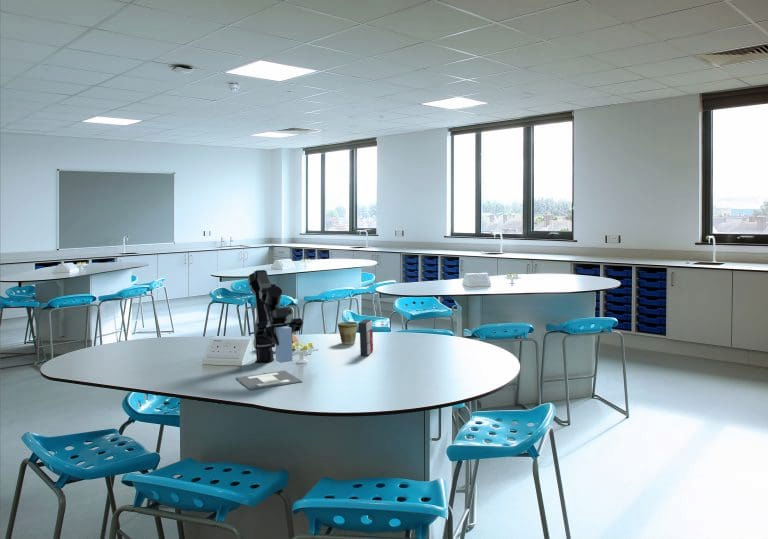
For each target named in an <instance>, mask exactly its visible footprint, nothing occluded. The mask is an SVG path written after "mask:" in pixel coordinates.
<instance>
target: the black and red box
mask: <svg viewBox="0 0 768 539" xmlns="http://www.w3.org/2000/svg"><path fill="white" fill-rule="evenodd" d="M357 323H358V326H357V331H358V333H359V346H360V347H359V348H360V349H359V351H360V356H361V357H367V355H370V354H371V353H372V352H373V351H374V340H373V339H374V337H373V336H374V335H373V333H374V332H373V331H374V330H373V321H372V319H371V318H370V319H368V318H366V319H365V318H364V319H362V320H361V321H359V322H357Z"/></svg>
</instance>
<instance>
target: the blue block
mask: <svg viewBox="0 0 768 539" xmlns="http://www.w3.org/2000/svg"><path fill="white" fill-rule="evenodd" d="M275 335H276V337H277V339H278V343H279V345H278V346H277V345H276V344H275V347H274V348H275V361H276V362H278V363H280V364H282V363H289V362H293V344H292V328H290V327H288V326H283V327H275Z"/></svg>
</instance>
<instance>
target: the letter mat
mask: <svg viewBox="0 0 768 539" xmlns="http://www.w3.org/2000/svg"><path fill="white" fill-rule="evenodd" d="M236 378H237V379H238V380H239V381H240V382H239V381H238V380H237V379H236V380H237V381H238V382H239V383H241V384H242V383H243V384H244V385H245V386H246V389H248V390H249V389H250V391H255V389H256V390H261V389H262V390H263V389H267V388H274V387H280V386H285V385H293V384H299V383H302V382H303V380H302V379H299V377H296V376H294V375H293V374H292V373H290V372H288V371H286V370H279V371H273V372H272V371H271V372H265V373H259V374H258V373H257V374H251V375H245V376H244V375H243V376H237V377H236ZM243 384H242V385H243ZM244 385H243V386H244ZM245 386H244V387H245Z"/></svg>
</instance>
